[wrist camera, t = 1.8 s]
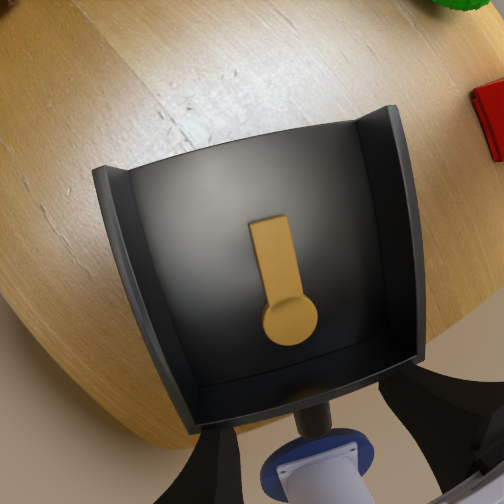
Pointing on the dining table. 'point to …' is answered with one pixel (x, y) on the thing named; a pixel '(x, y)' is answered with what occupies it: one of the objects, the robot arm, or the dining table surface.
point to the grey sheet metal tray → (248, 277)
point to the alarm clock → (10, 3)
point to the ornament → (462, 4)
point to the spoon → (281, 283)
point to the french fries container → (492, 115)
